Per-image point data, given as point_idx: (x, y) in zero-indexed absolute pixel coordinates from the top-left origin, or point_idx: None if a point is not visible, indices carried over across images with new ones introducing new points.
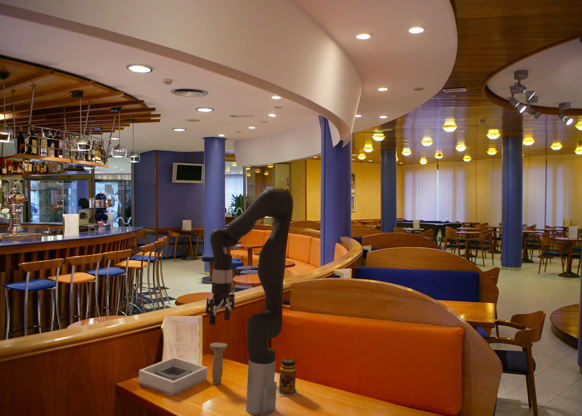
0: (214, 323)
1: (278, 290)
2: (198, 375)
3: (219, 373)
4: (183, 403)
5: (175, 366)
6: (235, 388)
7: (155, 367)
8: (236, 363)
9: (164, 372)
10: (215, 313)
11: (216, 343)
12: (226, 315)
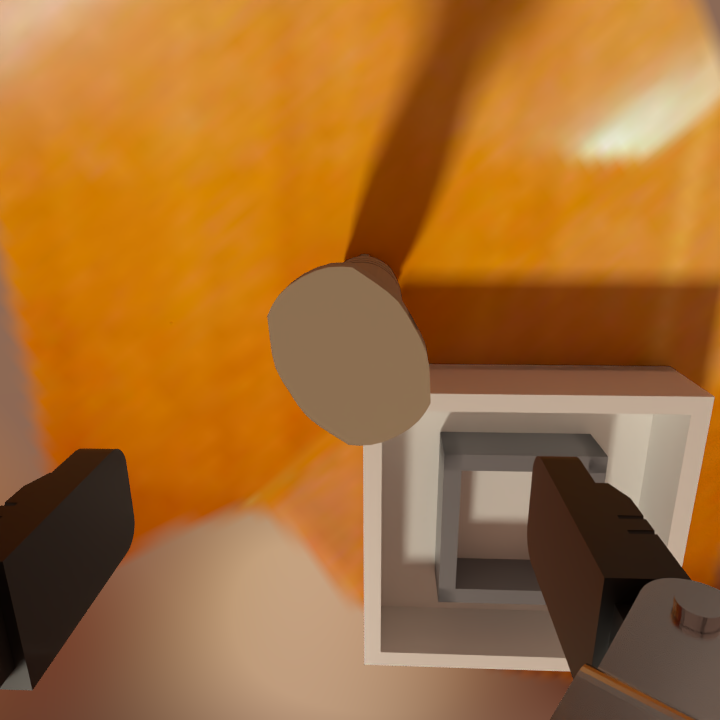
0: (577, 465)
1: None
2: (455, 382)
3: (378, 262)
4: (713, 253)
5: (451, 574)
6: (349, 125)
7: (540, 646)
8: (37, 383)
9: (525, 577)
10: (661, 619)
11: (332, 405)
12: (81, 551)
